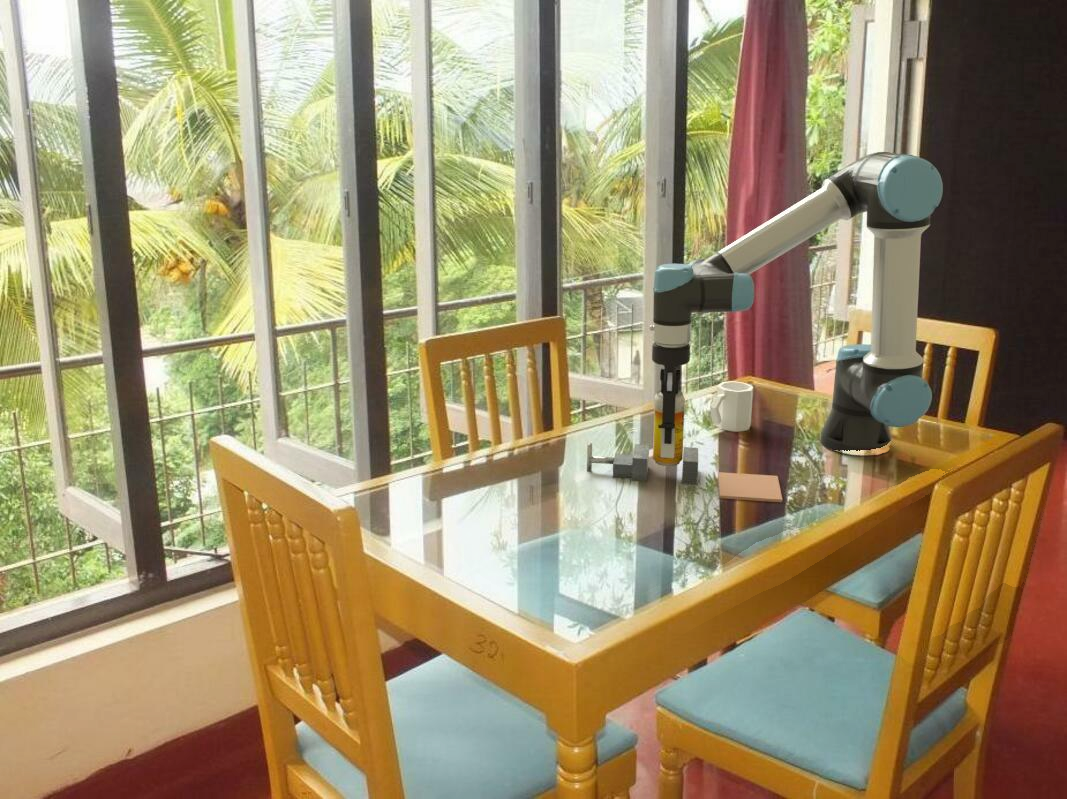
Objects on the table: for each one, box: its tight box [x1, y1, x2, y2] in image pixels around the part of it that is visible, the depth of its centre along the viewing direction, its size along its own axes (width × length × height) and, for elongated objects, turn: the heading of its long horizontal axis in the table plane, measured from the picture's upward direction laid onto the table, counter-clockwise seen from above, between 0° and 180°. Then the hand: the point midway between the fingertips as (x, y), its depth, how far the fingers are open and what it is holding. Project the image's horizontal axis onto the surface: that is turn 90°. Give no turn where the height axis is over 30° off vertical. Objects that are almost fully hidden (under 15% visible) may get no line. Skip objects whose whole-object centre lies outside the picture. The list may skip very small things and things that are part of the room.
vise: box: [586, 442, 699, 486], centre depth 197 cm, size 23×8×6 cm, turn 81°
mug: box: [709, 380, 754, 433], centre depth 223 cm, size 12×9×10 cm
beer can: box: [652, 389, 685, 467], centre depth 193 cm, size 6×6×15 cm
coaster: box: [717, 471, 783, 503], centre depth 190 cm, size 12×12×1 cm
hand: (667, 450), depth 195 cm, fingers closed on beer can, 6 cm apart
